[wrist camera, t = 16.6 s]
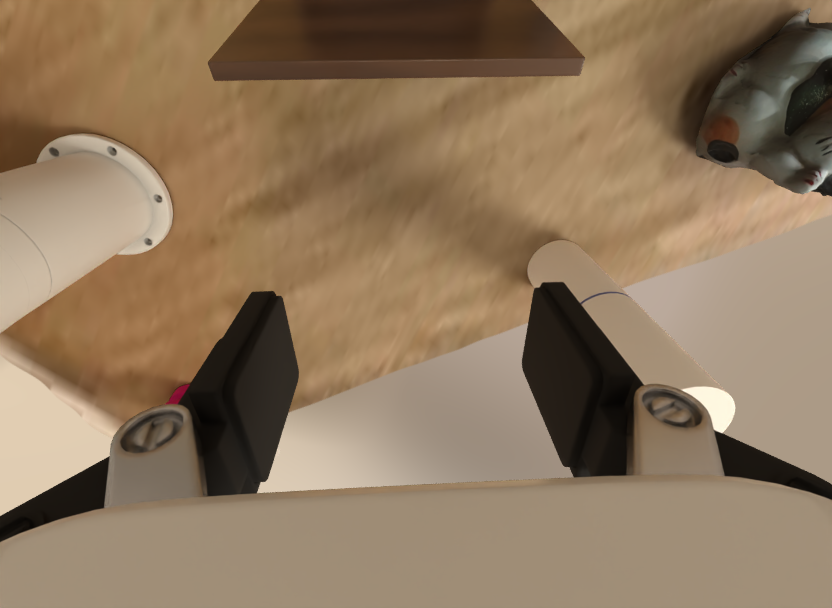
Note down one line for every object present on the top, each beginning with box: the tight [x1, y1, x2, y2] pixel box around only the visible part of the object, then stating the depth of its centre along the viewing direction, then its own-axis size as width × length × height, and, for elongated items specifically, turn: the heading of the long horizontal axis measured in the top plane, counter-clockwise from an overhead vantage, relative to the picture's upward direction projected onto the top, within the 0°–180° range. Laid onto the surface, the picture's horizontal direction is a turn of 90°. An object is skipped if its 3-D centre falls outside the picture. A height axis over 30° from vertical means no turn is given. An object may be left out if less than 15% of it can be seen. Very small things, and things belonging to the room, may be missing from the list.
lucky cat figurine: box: [696, 8, 832, 196], centre depth 35 cm, size 15×12×14 cm
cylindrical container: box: [527, 240, 735, 433], centre depth 38 cm, size 7×7×25 cm
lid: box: [208, 0, 585, 81], centre depth 22 cm, size 18×15×1 cm
